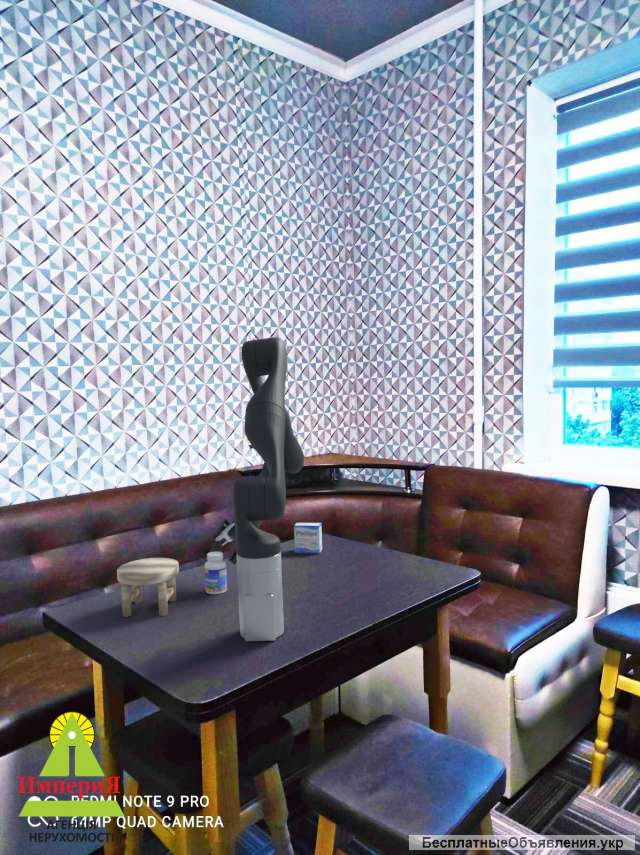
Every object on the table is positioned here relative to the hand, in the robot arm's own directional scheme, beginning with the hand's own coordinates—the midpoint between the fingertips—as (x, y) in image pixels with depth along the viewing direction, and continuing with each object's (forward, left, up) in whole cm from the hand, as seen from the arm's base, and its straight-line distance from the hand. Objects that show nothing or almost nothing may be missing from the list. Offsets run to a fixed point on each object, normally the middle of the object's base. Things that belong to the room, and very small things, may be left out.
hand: (221, 559), depth 154 cm
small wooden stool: (-11, +15, -8) cm, 21 cm away
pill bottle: (-1, +1, -8) cm, 8 cm away
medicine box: (+31, -22, -8) cm, 38 cm away
